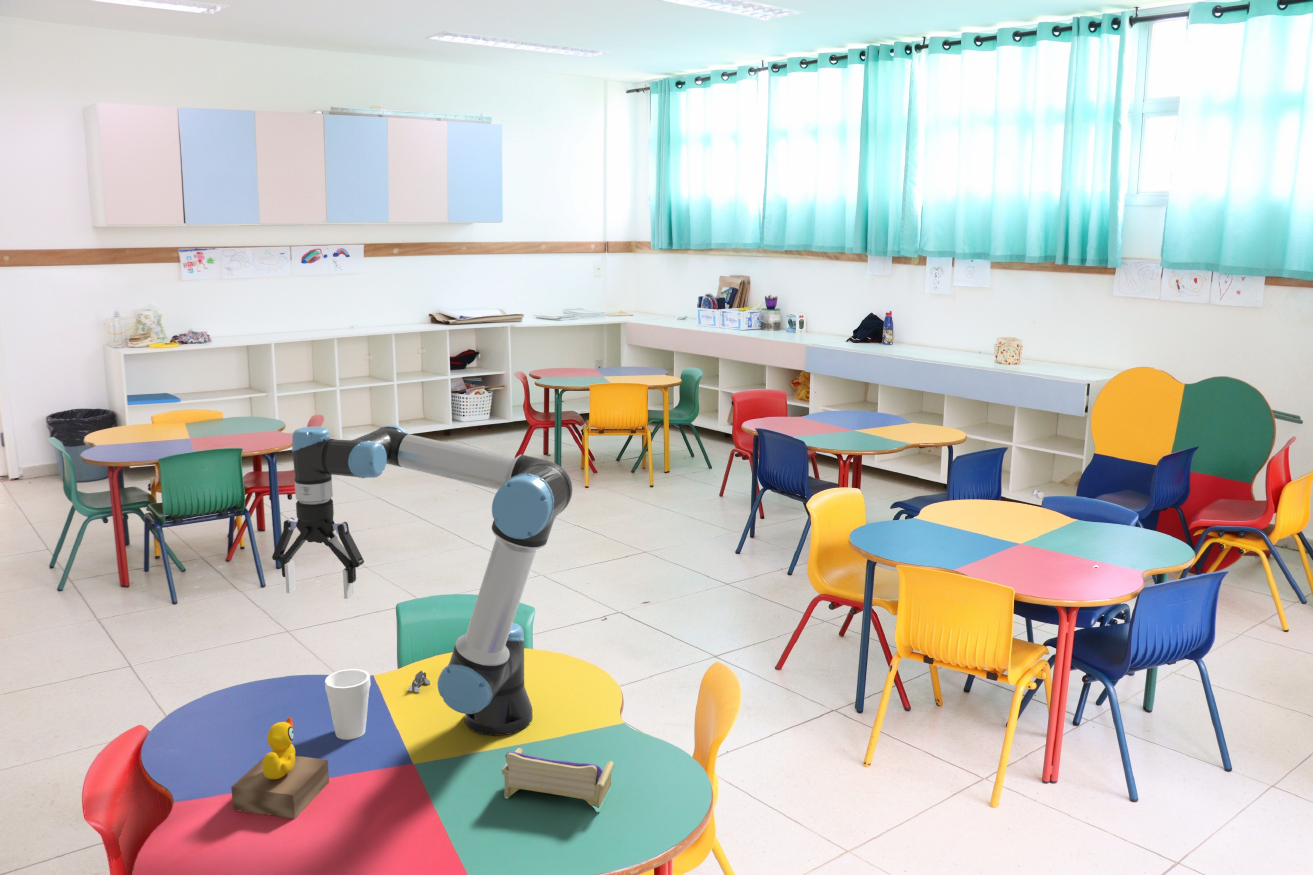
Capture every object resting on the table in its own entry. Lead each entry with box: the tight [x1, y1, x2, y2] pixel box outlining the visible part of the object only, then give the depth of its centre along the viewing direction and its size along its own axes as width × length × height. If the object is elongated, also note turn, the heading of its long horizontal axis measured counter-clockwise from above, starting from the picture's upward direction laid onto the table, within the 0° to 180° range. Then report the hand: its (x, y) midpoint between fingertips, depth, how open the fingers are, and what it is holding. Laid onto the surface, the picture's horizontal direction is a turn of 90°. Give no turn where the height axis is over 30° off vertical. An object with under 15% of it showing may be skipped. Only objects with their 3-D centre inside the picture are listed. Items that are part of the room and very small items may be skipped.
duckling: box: [263, 717, 296, 779], centre depth 200 cm, size 11×5×10 cm, turn 178°
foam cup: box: [324, 668, 371, 741], centre depth 225 cm, size 10×9×13 cm
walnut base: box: [231, 755, 330, 820], centre depth 202 cm, size 13×13×5 cm
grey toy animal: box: [407, 670, 431, 693], centre depth 252 cm, size 15×7×4 cm, turn 160°
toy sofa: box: [501, 747, 615, 808], centre depth 203 cm, size 21×9×10 cm, turn 76°
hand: (319, 593), depth 222 cm, fingers open, 13 cm apart
